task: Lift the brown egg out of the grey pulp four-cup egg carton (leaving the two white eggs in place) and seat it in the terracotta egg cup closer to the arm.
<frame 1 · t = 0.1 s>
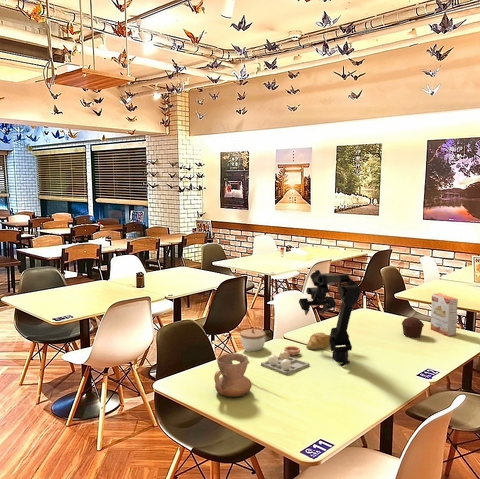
hand: (313, 313, 242), 15 cm above the table, tool tilted 35°, fingers open, 9 cm apart
brown egg: (284, 361, 212), point 1 cm above the table, touching egg carton
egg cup: (292, 356, 222), on the table
white egg b: (273, 365, 207), point 1 cm above the table, touching egg carton
ceramic jug: (232, 393, 182), on the table
white egg a: (285, 370, 202), point 1 cm above the table, touching egg carton
egg carton: (285, 368, 207), on the table
cracker box: (442, 332, 258), on the table
lidded bowl: (252, 350, 230), on the table
croissant: (318, 346, 237), on the table
muffin: (412, 336, 252), on the table
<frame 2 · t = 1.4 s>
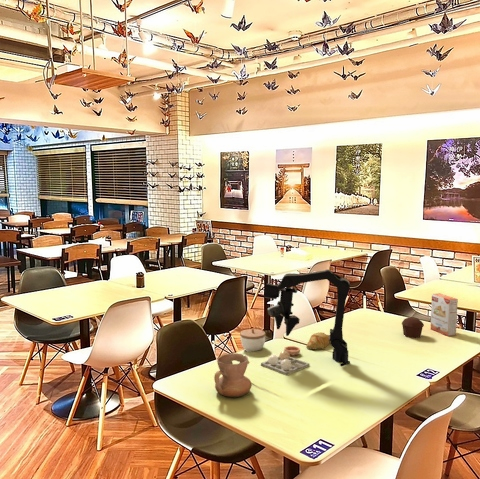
hand: (282, 332, 217), 13 cm above the table, tool pointing down, fingers open, 9 cm apart
nothing on the table moved.
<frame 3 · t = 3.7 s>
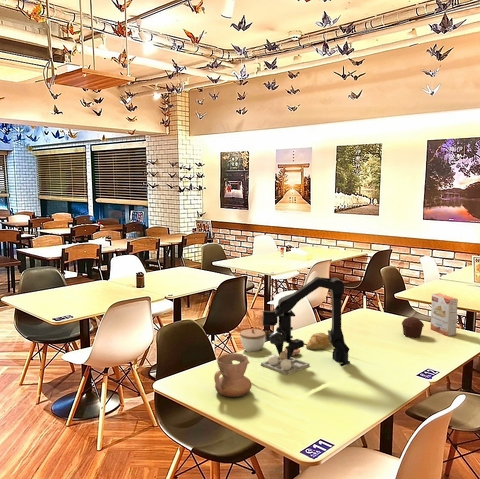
hand: (284, 358, 212), 3 cm above the table, tool pointing down, fingers closed on brown egg, 5 cm apart
brown egg: (284, 361, 212), point 1 cm above the table, touching egg carton, gripper
everything else where it was.
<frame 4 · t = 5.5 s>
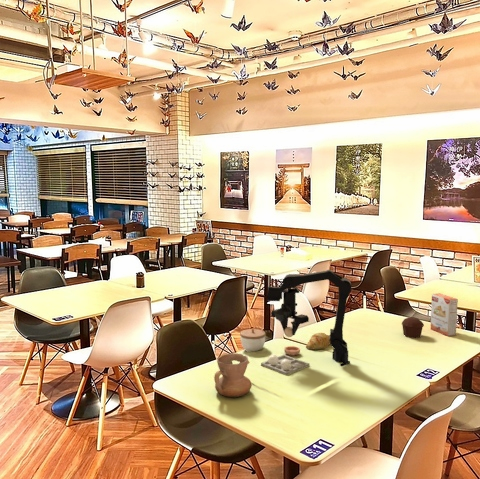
hand: (289, 333, 216), 12 cm above the table, tool pointing down, fingers closed on brown egg, 5 cm apart
brown egg: (289, 336, 216), point 11 cm above the table, touching gripper
everything else where it was.
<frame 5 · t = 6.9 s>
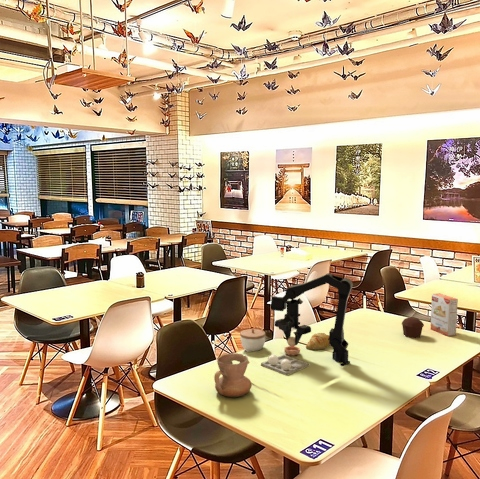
hand: (292, 343, 221), 6 cm above the table, tool pointing down, fingers closed on brown egg, 5 cm apart
brown egg: (292, 346, 221), point 5 cm above the table, touching gripper
everything else where it was.
when the fingers open (5 cm above the table, at t = 7.6 s): brown egg stays where it is, resting on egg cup.
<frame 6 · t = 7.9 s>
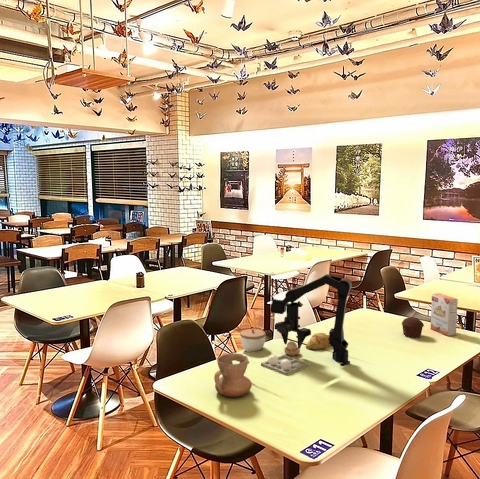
hand: (292, 346, 221), 5 cm above the table, tool pointing down, fingers open, 8 cm apart
brown egg: (292, 351, 221), point 3 cm above the table, tilted 5°, touching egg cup
everything else where it was.
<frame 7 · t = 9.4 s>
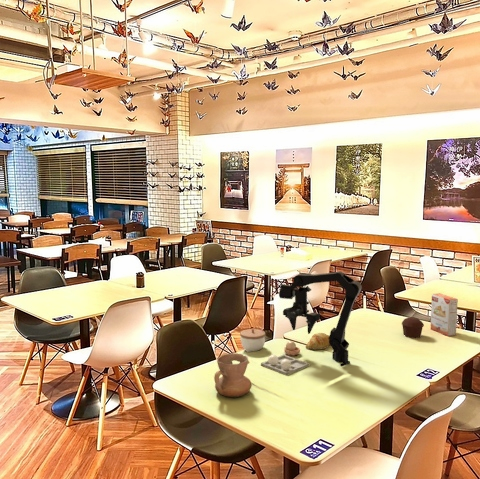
hand: (301, 331, 220), 12 cm above the table, tool pointing down, fingers open, 9 cm apart
brown egg: (292, 350, 221), point 3 cm above the table, tilted 20°, touching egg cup
everything else where it was.
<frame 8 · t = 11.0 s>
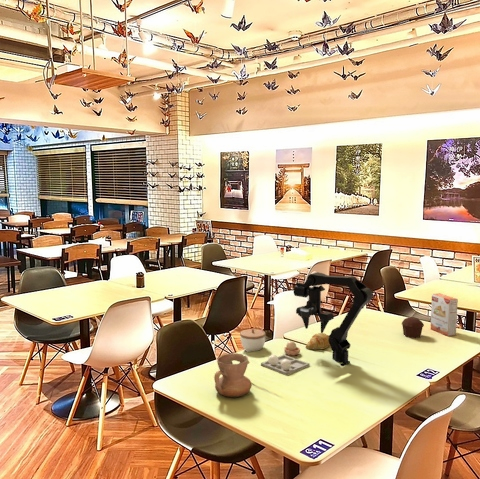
hand: (314, 330, 221), 13 cm above the table, tool pointing down, fingers open, 9 cm apart
brown egg: (292, 351, 221), point 3 cm above the table, tilted 13°, touching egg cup
everything else where it was.
at the end: brown egg 0.1 cm off-centre on the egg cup, point 2.6 cm above the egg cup's base; the gripper is holding nothing; white egg b moved 0.0 cm from its start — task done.
